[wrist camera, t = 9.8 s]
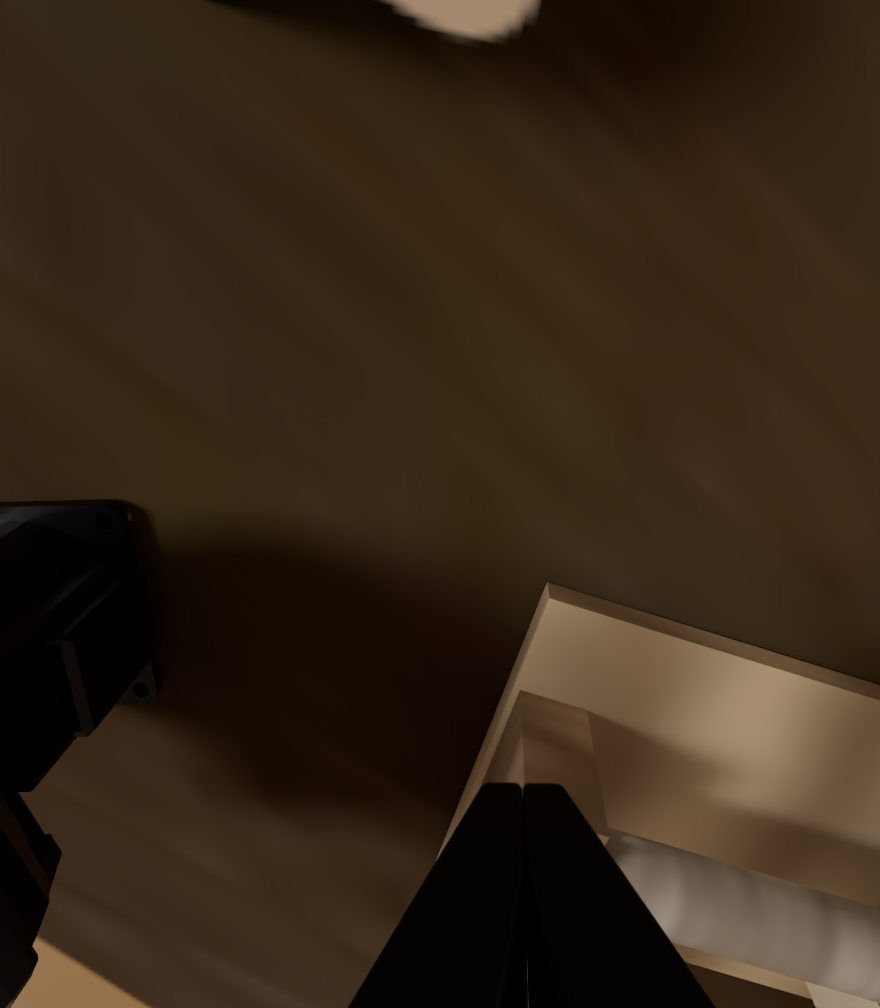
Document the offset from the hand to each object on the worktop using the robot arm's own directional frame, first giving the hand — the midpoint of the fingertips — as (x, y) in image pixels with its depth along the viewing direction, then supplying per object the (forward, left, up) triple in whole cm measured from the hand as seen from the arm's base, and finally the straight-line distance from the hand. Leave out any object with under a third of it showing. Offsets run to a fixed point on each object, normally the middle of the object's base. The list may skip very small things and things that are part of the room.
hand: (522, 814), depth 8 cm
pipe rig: (+8, -12, -13) cm, 19 cm away
